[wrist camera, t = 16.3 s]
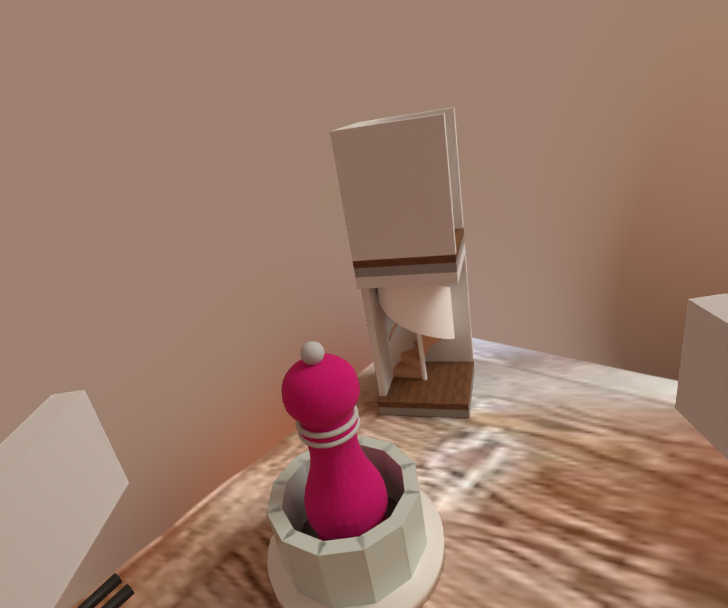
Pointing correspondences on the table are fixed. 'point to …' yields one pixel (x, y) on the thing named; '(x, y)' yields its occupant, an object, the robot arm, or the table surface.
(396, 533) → the well
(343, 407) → the pepper mill
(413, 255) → the spiral stair tower
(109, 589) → the ramen bowl
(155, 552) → the table surface
